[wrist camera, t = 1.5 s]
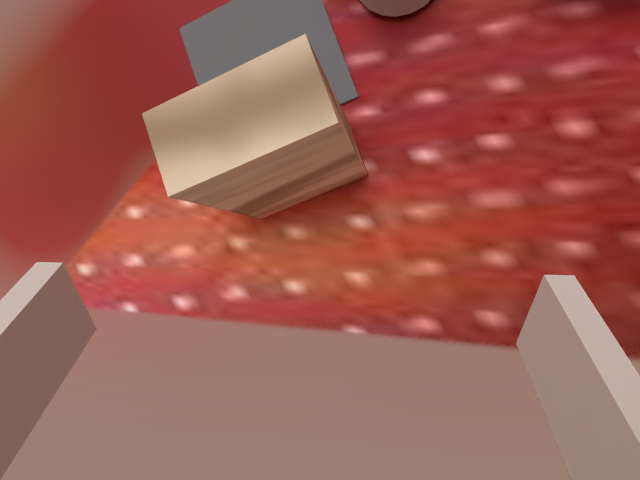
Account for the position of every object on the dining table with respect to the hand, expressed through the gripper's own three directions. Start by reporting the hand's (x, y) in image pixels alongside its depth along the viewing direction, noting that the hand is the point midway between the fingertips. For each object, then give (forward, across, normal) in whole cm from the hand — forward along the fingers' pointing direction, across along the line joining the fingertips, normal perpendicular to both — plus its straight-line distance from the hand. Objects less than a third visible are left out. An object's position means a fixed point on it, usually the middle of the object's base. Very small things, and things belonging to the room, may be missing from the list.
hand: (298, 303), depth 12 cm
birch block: (+23, -2, -8) cm, 25 cm away
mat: (+30, -6, -1) cm, 31 cm away
